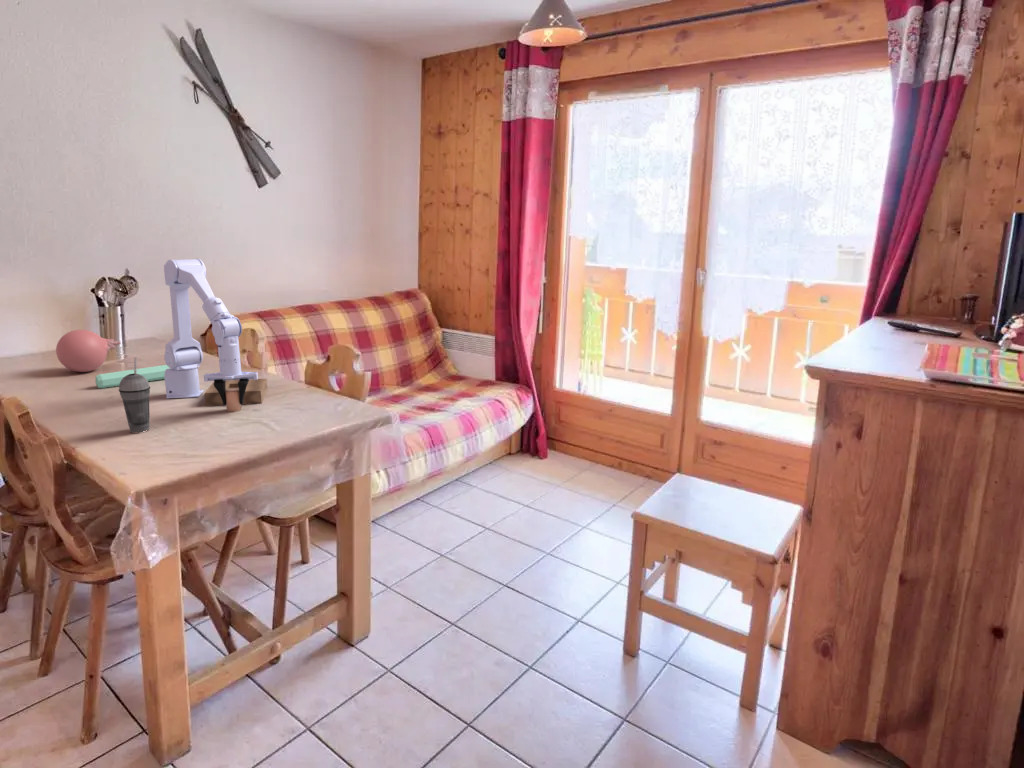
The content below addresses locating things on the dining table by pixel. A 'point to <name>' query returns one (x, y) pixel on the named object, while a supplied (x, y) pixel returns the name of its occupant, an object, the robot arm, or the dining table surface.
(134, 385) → the beverage cup
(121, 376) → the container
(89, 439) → the dining table surface
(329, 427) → the dining table surface
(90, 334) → the balloon
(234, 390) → the terracotta plug
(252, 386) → the walnut bore block
